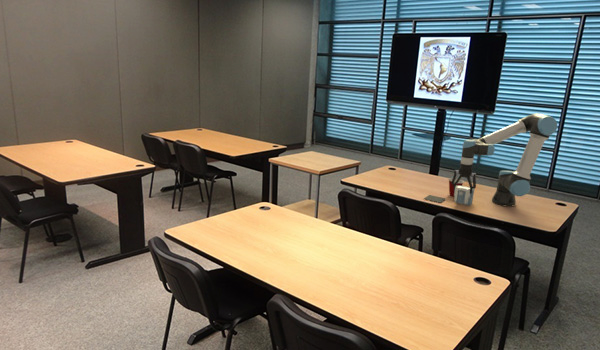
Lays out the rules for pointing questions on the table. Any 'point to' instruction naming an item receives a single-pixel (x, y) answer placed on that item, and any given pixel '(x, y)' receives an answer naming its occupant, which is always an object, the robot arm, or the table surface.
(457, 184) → the plastic cup
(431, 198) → the rubber mat
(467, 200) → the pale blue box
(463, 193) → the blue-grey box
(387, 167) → the table surface
